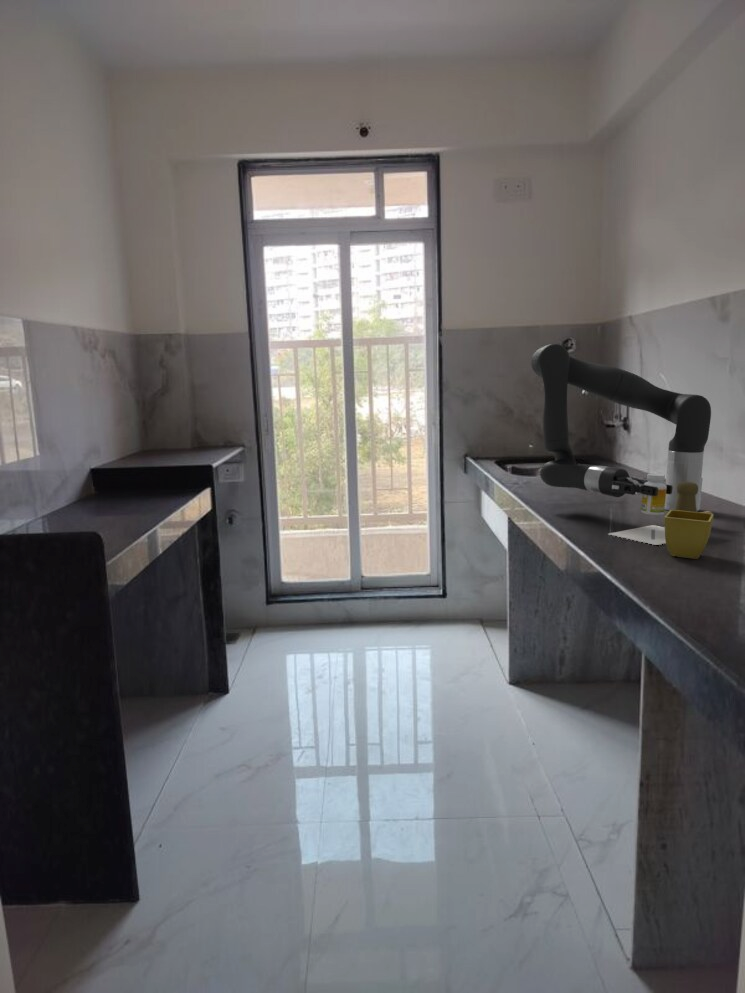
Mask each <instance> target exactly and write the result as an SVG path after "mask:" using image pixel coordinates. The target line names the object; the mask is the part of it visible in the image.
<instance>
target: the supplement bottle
mask: <svg viewBox="0 0 745 993" xmlns="http://www.w3.org/2000/svg"><path fill="white" fill-rule="evenodd" d="M646 479H647V480H648V482H646V483H644V485H648V486H653V487H657V488H658V494H657V496H650V495H645V494H641V495H642V496H641V505H640V512H641V513H643V514H646V515H652V516H653V515H655V516H661V515H664V514H665V510H666V509H665V499H666V490H667V486H666V483H664V481H666V474H661V473H647V477H646Z"/></svg>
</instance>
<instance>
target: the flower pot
mask: <svg viewBox="0 0 745 993" xmlns="http://www.w3.org/2000/svg"><path fill="white" fill-rule="evenodd" d="M700 512H701V511H700ZM700 512H699V511H698V512H690V511H680V510H670V511H669V510H668V512H667V514H665V515H664V517H663V518H664V520H663V521H664V527H665V540H666V544H665V545H666V547H667V549H668V551H669V553H670V555H671V556H672V557H675V556H677V557H679V558H686V559H691V560H692V559H693V560H698V559H699V558H700V556H701V555H702V553H703V551H704V549H705V547H706V545H707V543H708V540H709V539H710V535H711V532H712V526H713V521H714V517H715V516H714V515H715V514H714V513H712V514H710V513H700ZM677 557H676V558H677Z"/></svg>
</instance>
